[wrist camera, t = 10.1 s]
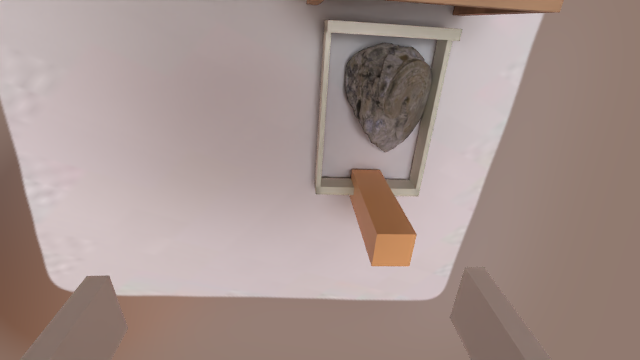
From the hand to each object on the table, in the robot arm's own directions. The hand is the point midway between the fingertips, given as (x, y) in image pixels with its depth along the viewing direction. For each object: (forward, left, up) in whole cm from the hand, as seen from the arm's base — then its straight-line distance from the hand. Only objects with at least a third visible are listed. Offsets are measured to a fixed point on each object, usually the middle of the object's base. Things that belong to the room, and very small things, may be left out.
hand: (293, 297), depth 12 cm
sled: (0, +9, -27) cm, 28 cm away
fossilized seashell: (-3, +10, -28) cm, 30 cm away
